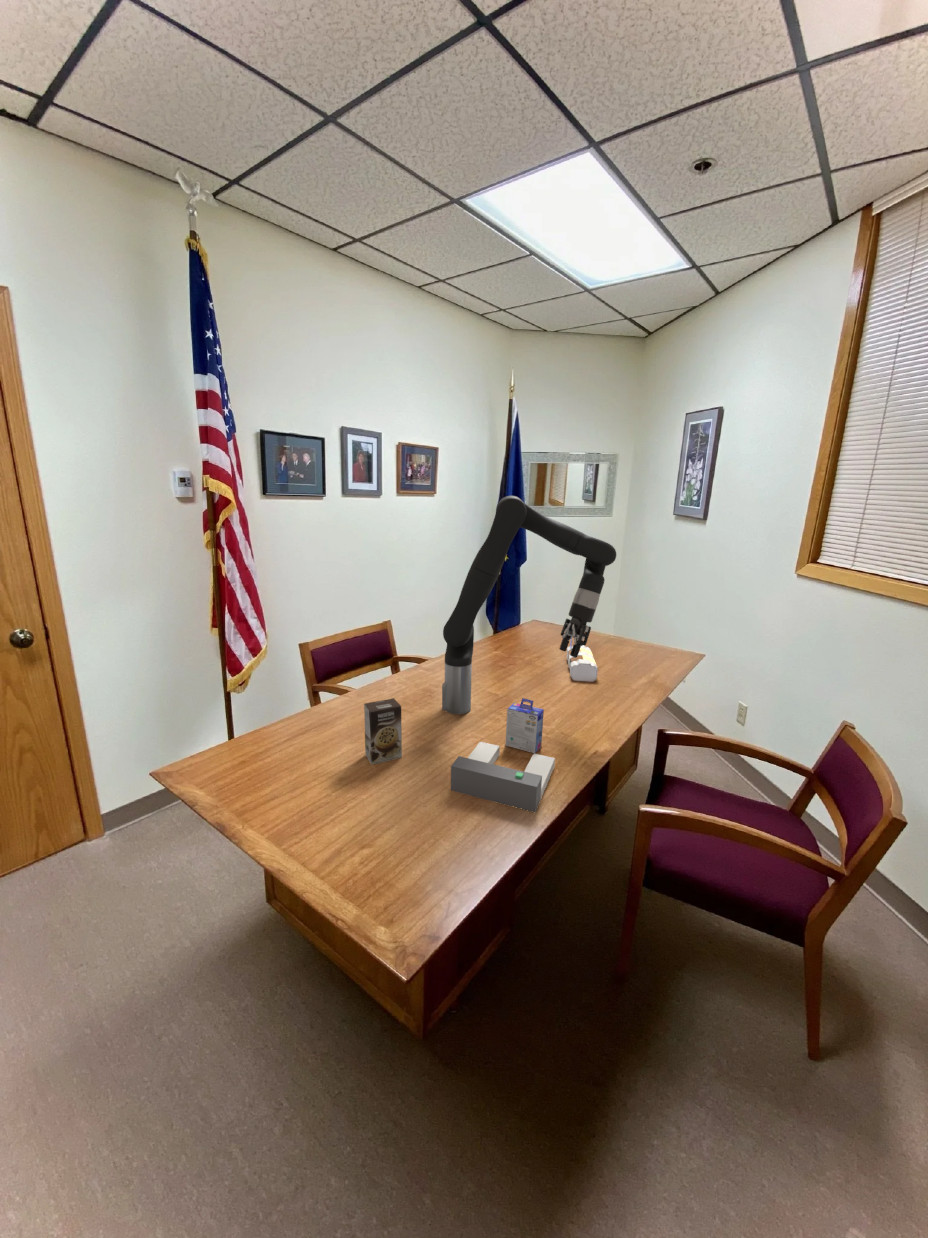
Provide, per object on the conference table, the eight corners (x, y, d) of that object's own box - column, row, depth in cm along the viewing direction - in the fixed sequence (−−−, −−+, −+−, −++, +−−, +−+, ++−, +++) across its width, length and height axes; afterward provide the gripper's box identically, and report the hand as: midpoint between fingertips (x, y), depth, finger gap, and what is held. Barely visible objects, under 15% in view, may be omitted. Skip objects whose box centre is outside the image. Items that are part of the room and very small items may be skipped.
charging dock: (450, 790, 122) (450, 763, 120) (479, 750, 141) (480, 727, 139) (535, 812, 114) (537, 784, 112) (554, 767, 133) (556, 743, 131)
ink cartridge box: (542, 746, 144) (545, 701, 141) (536, 754, 140) (538, 708, 136) (511, 738, 149) (513, 694, 145) (504, 745, 144) (506, 701, 140)
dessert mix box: (371, 765, 133) (369, 712, 128) (364, 754, 138) (362, 702, 134) (402, 758, 137) (401, 705, 132) (395, 747, 142) (394, 697, 138)
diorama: (566, 660, 219) (568, 632, 216) (589, 661, 218) (591, 633, 215) (570, 680, 195) (572, 650, 192) (596, 682, 194) (599, 651, 191)
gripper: (564, 599, 157) (548, 645, 159) (583, 604, 144) (566, 655, 145) (584, 605, 159) (568, 651, 161) (605, 611, 145) (588, 661, 147)
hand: (567, 653), depth 153 cm, fingers open, 8 cm apart
